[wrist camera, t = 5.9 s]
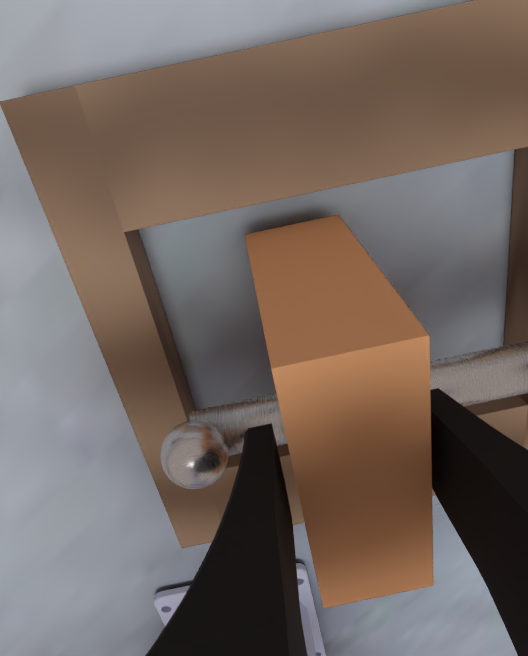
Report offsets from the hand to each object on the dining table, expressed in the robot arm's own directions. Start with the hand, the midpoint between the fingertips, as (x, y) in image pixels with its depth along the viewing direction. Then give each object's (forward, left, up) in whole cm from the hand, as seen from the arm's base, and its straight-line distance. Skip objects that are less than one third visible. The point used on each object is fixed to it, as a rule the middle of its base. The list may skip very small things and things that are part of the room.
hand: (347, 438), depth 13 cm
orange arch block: (0, 0, -6) cm, 6 cm away
